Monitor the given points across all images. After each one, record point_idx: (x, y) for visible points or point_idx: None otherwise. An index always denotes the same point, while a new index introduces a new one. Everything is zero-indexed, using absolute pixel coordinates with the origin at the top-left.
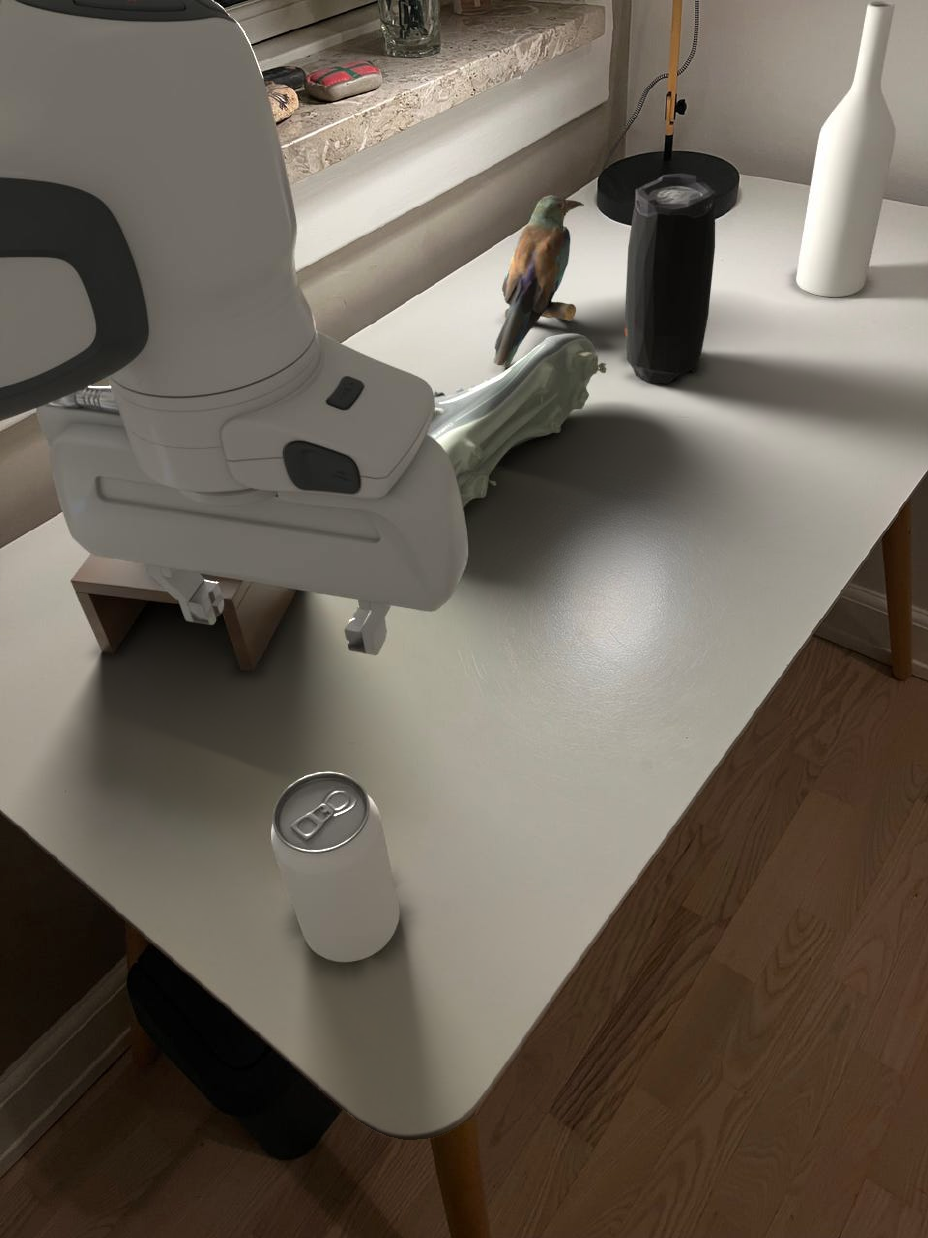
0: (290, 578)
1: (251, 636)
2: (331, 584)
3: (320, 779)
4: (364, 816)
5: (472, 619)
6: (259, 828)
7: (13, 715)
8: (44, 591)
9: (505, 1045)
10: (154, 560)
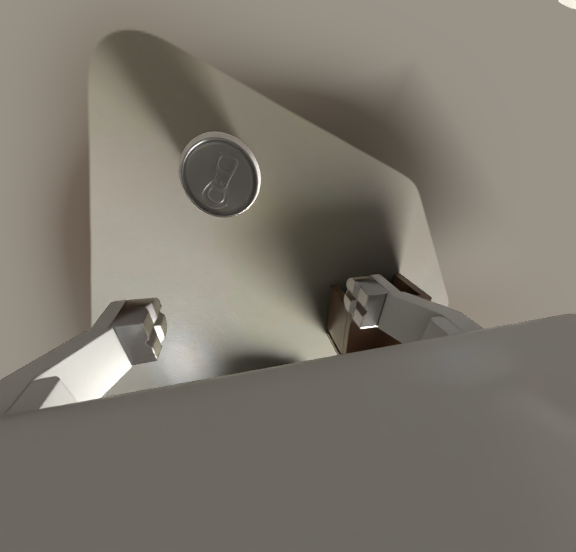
0: (166, 423)
1: (336, 299)
2: (7, 460)
3: (238, 210)
4: (188, 187)
5: (245, 338)
6: (294, 207)
7: (428, 231)
8: (431, 292)
9: (91, 106)
10: (495, 341)
